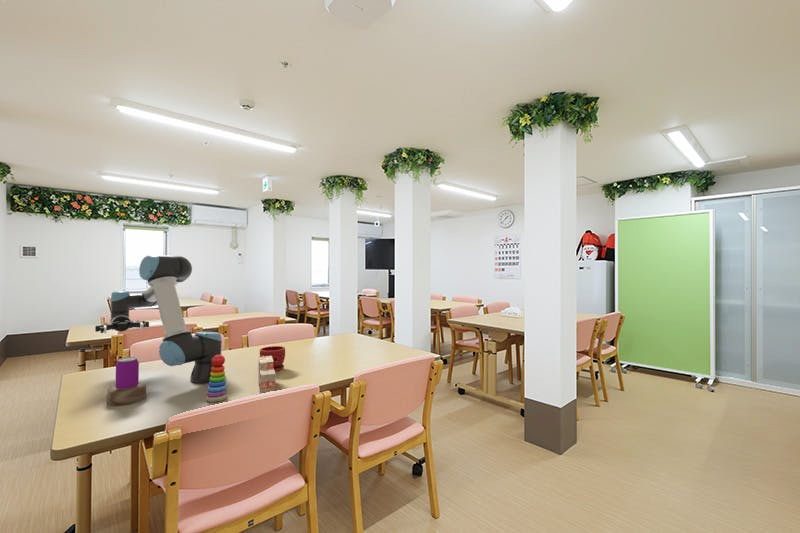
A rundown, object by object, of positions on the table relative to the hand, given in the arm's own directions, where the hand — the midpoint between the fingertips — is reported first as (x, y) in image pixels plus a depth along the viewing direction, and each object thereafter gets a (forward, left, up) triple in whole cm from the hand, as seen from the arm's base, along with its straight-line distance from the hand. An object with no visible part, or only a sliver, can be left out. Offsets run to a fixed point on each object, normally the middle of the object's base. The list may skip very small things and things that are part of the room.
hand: (124, 328), depth 164 cm
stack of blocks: (-65, -7, -27) cm, 71 cm away
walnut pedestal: (-15, +15, -27) cm, 34 cm away
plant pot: (-56, -33, -27) cm, 70 cm away
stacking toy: (-51, +10, -27) cm, 58 cm away
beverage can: (-15, +15, -22) cm, 30 cm away
